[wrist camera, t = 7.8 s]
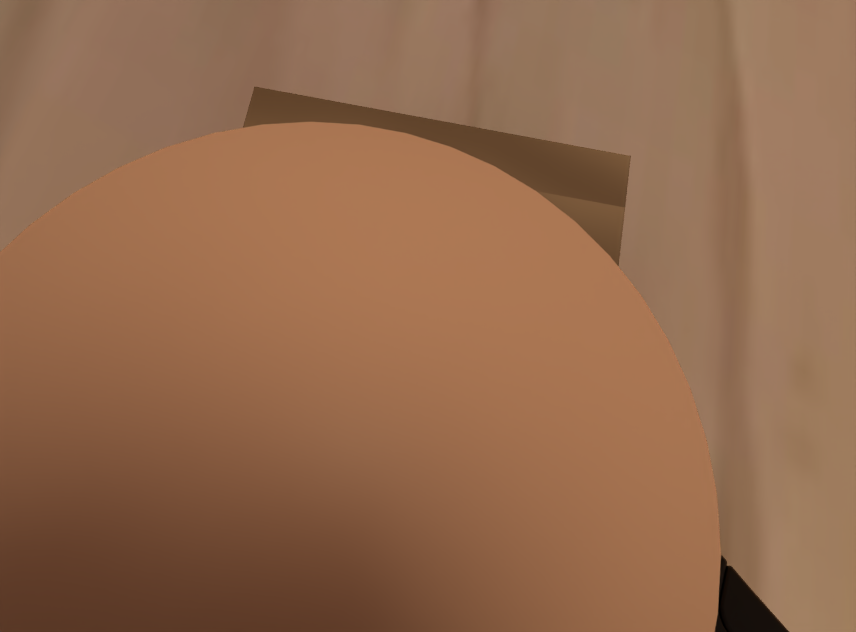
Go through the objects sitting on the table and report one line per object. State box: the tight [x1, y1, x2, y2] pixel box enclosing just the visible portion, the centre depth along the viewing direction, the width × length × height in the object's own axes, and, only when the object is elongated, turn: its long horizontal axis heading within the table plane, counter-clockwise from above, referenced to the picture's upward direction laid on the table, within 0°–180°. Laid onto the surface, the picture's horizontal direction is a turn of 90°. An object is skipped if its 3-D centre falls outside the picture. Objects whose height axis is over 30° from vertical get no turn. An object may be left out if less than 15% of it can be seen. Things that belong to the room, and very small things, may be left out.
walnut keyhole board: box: [243, 87, 631, 266], centre depth 14 cm, size 20×11×4 cm, turn 170°
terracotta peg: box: [0, 122, 721, 632], centre depth 9 cm, size 6×6×12 cm
